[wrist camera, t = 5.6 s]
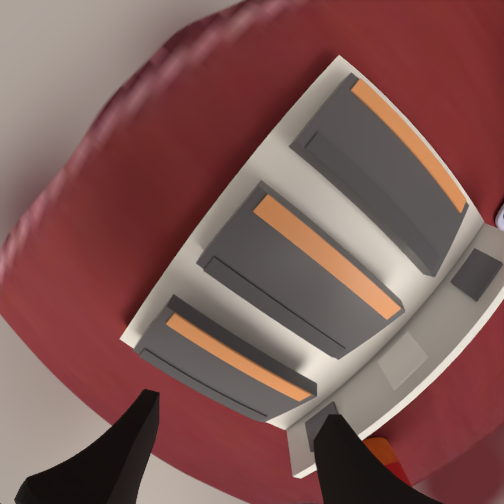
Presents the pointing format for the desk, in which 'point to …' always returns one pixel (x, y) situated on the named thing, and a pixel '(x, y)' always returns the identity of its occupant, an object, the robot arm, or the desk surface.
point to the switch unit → (368, 254)
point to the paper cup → (386, 456)
